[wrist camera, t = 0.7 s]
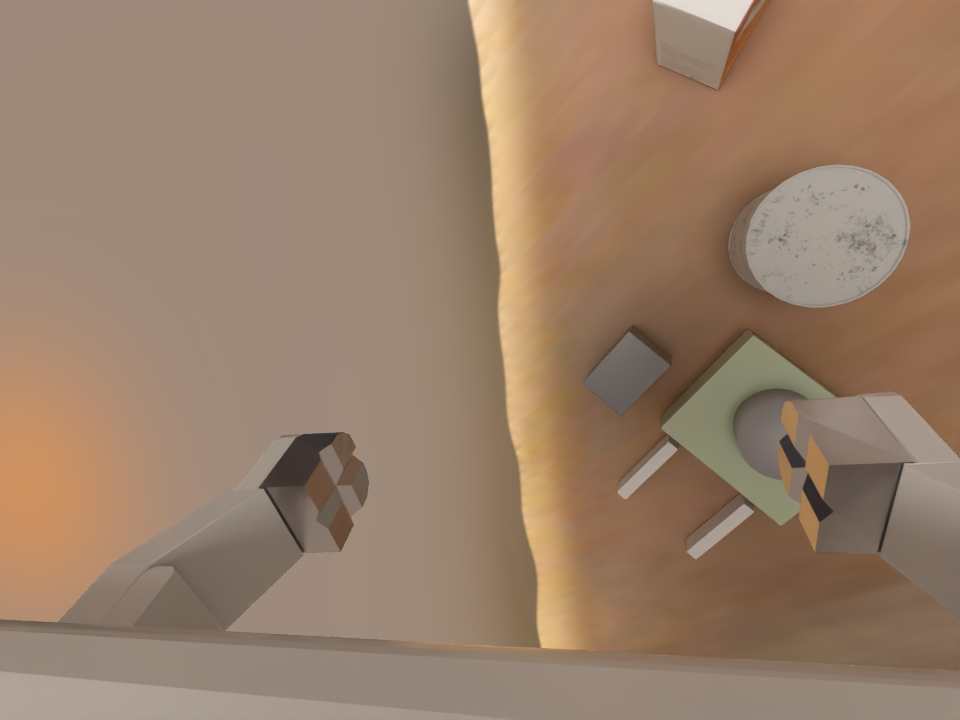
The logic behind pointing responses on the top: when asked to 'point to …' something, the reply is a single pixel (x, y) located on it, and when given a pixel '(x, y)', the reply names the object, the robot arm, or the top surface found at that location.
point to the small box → (703, 35)
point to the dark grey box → (627, 370)
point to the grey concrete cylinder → (821, 236)
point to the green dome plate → (734, 433)
